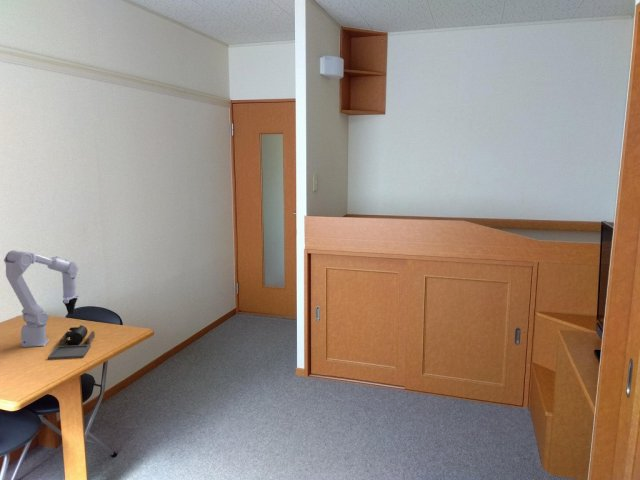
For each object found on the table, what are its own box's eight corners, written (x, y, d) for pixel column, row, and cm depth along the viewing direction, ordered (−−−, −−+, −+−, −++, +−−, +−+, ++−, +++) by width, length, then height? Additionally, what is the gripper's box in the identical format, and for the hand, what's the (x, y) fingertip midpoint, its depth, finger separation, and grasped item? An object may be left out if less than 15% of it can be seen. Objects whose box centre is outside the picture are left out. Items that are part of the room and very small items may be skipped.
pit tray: (47, 359, 209) (47, 357, 209) (56, 348, 221) (56, 346, 221) (83, 357, 212) (83, 355, 212) (90, 346, 224) (90, 344, 224)
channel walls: (60, 346, 224) (59, 340, 223) (66, 338, 233) (66, 332, 233) (89, 345, 226) (89, 338, 226) (94, 337, 236) (94, 331, 235)
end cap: (82, 346, 225) (82, 332, 224) (65, 347, 223) (65, 332, 222) (88, 338, 234) (87, 324, 233) (71, 339, 233) (71, 325, 232)
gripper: (74, 289, 232) (76, 317, 234) (82, 282, 246) (83, 308, 248) (58, 290, 231) (59, 318, 233) (66, 282, 245) (68, 309, 247)
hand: (70, 313), depth 240 cm, fingers closed
